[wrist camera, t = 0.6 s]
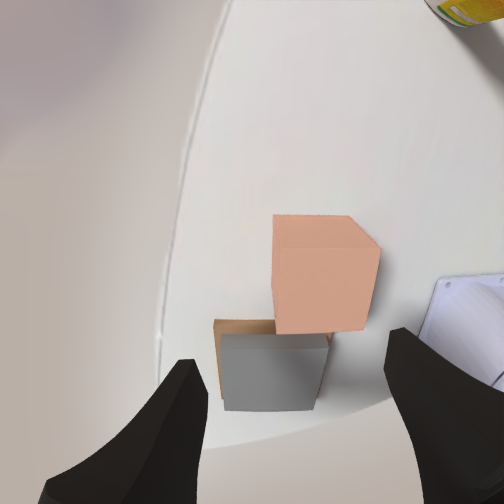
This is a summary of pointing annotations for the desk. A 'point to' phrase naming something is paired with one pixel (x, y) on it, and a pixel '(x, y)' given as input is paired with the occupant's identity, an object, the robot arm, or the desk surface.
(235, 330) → the tower base
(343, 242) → the terracotta block
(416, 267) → the desk surface
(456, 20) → the supplement bottle
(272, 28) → the desk surface
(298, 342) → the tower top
